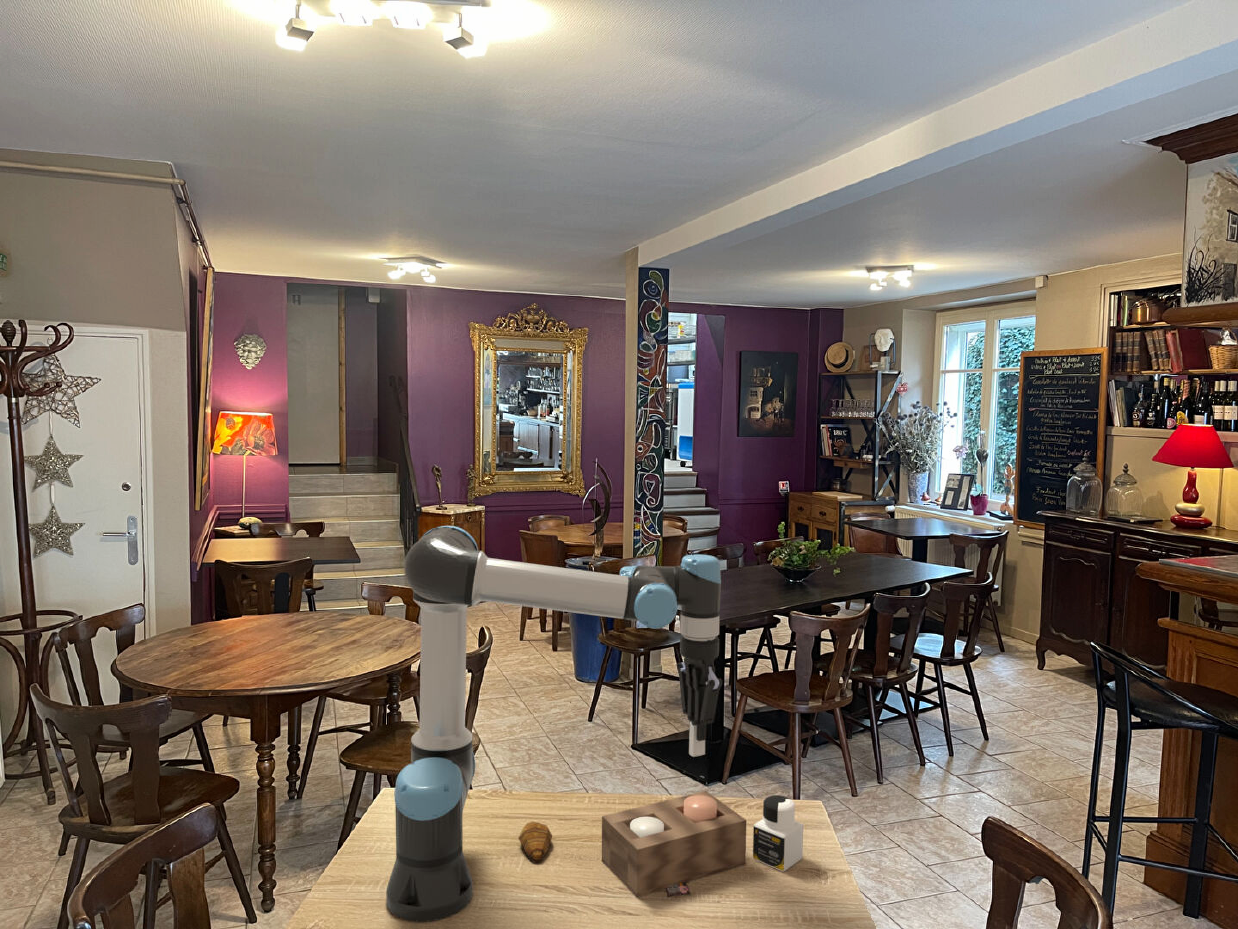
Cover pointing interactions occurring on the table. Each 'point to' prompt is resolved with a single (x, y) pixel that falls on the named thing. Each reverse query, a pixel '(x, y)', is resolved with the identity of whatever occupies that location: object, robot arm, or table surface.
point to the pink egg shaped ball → (700, 808)
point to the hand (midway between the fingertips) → (696, 754)
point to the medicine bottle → (778, 834)
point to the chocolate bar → (677, 890)
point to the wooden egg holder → (672, 846)
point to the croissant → (535, 840)
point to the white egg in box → (646, 826)
